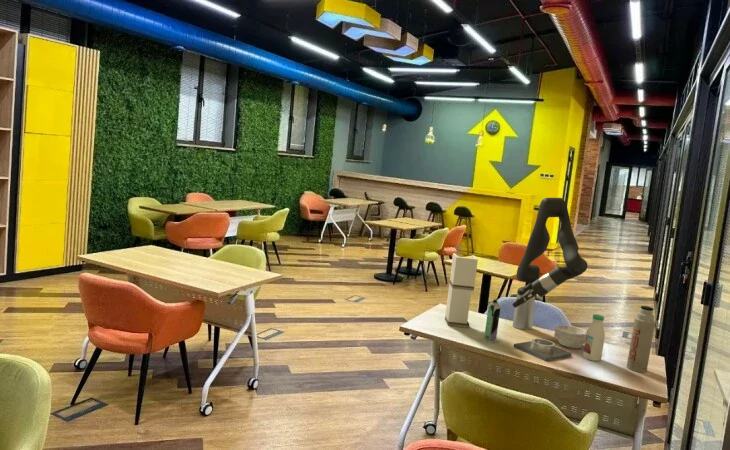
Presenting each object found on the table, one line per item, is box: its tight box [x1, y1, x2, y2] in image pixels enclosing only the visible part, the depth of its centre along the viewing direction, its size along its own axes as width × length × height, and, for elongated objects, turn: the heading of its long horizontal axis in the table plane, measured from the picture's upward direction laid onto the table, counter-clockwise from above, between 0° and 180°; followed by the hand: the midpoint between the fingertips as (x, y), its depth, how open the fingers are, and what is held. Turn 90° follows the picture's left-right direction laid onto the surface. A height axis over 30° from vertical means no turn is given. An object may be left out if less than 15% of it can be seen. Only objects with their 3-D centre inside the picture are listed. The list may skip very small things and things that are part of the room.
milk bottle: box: [582, 313, 606, 362], centre depth 248 cm, size 8×8×20 cm
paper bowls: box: [554, 324, 587, 349], centre depth 265 cm, size 15×15×8 cm
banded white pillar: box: [444, 252, 479, 329], centre depth 280 cm, size 11×11×35 cm
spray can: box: [483, 298, 502, 344], centre depth 258 cm, size 6×6×20 cm
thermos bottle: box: [626, 305, 656, 374], centre depth 239 cm, size 8×8×28 cm
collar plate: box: [513, 337, 573, 362], centre depth 251 cm, size 18×18×4 cm
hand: (515, 304), depth 253 cm, fingers open, 8 cm apart
